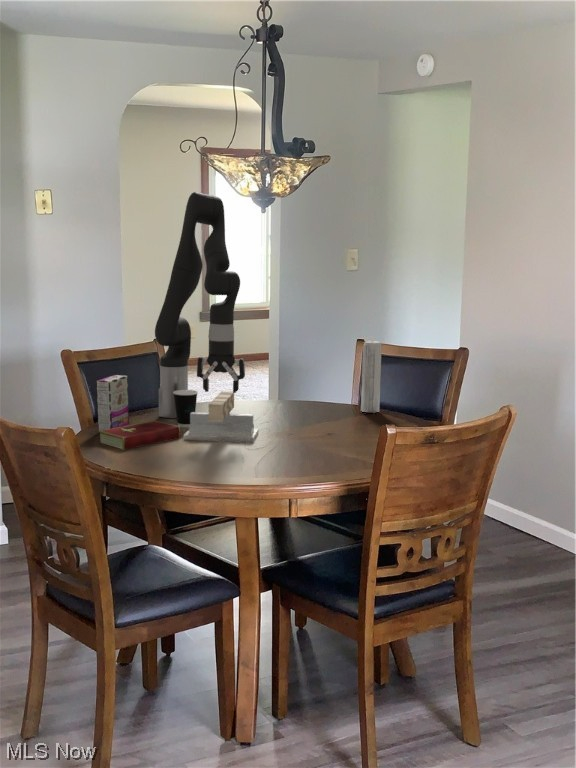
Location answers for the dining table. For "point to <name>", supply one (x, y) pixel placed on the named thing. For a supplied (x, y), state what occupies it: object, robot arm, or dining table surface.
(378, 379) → the air filter
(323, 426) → the dining table surface
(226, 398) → the beech batten
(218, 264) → the robot arm
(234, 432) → the ridge
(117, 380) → the candy bar box
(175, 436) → the hardcover book
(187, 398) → the dixie cup
